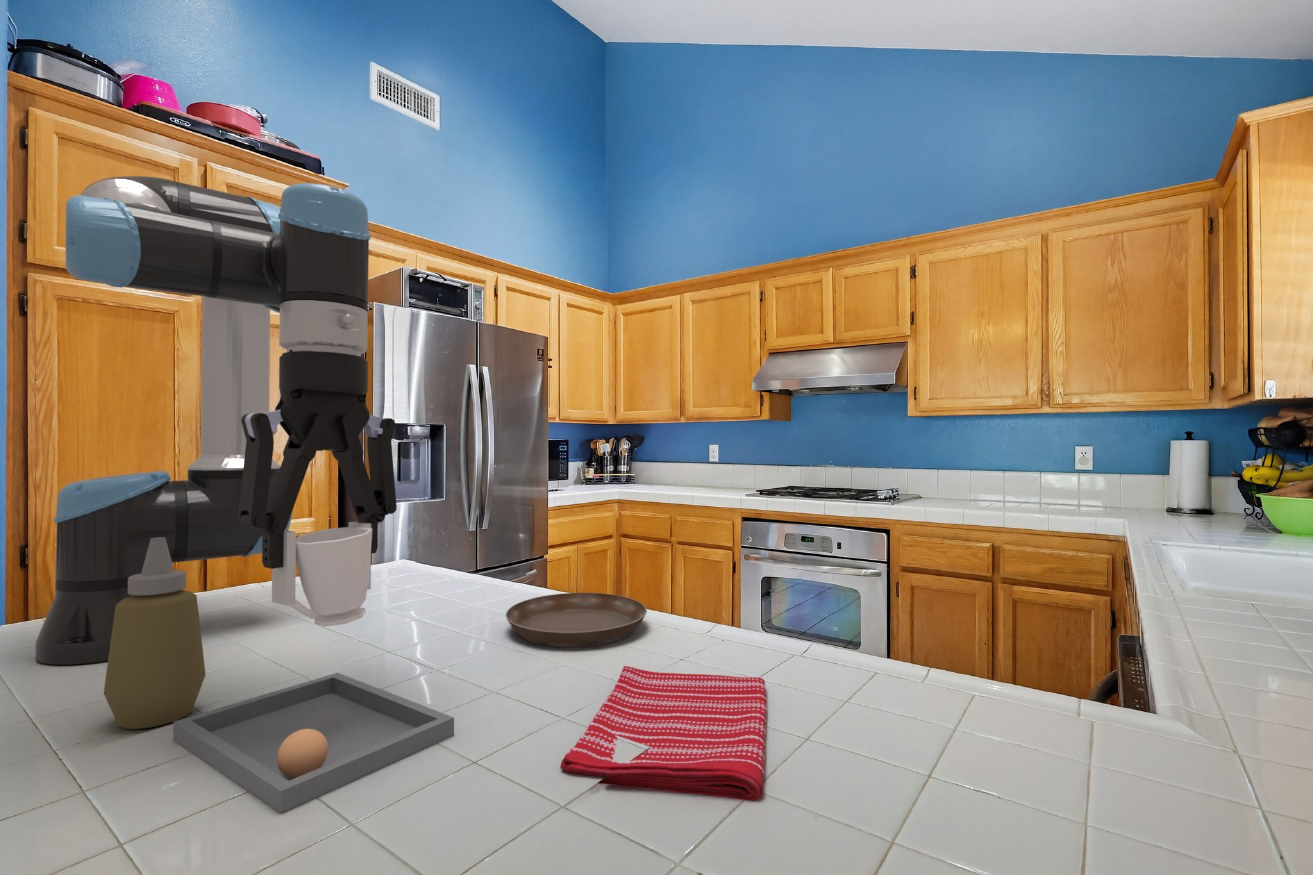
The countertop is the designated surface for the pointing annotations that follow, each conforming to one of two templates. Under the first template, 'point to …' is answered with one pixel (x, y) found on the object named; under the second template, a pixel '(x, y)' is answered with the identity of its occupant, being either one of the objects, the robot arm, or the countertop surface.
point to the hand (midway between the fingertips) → (323, 594)
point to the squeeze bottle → (155, 646)
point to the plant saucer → (576, 619)
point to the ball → (302, 753)
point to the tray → (337, 706)
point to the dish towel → (679, 734)
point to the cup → (334, 573)
